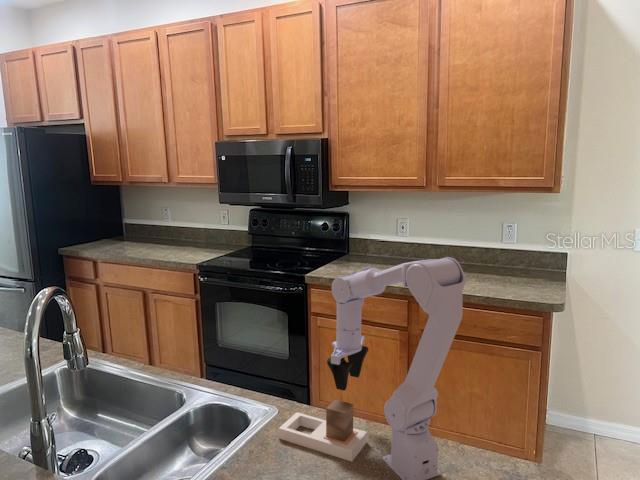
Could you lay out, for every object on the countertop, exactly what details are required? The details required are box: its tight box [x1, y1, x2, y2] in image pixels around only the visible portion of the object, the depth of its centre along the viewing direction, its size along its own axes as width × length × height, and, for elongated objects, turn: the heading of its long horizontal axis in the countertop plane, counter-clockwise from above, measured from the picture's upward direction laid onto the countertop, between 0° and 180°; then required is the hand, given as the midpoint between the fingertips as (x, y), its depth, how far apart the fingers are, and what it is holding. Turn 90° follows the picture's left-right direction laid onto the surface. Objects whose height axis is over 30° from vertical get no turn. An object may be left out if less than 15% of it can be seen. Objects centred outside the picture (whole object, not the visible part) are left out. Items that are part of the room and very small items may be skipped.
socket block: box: [278, 412, 368, 463], centre depth 105 cm, size 18×8×3 cm, turn 62°
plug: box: [325, 399, 354, 442], centre depth 103 cm, size 4×4×6 cm
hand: (348, 382), depth 111 cm, fingers open, 7 cm apart
